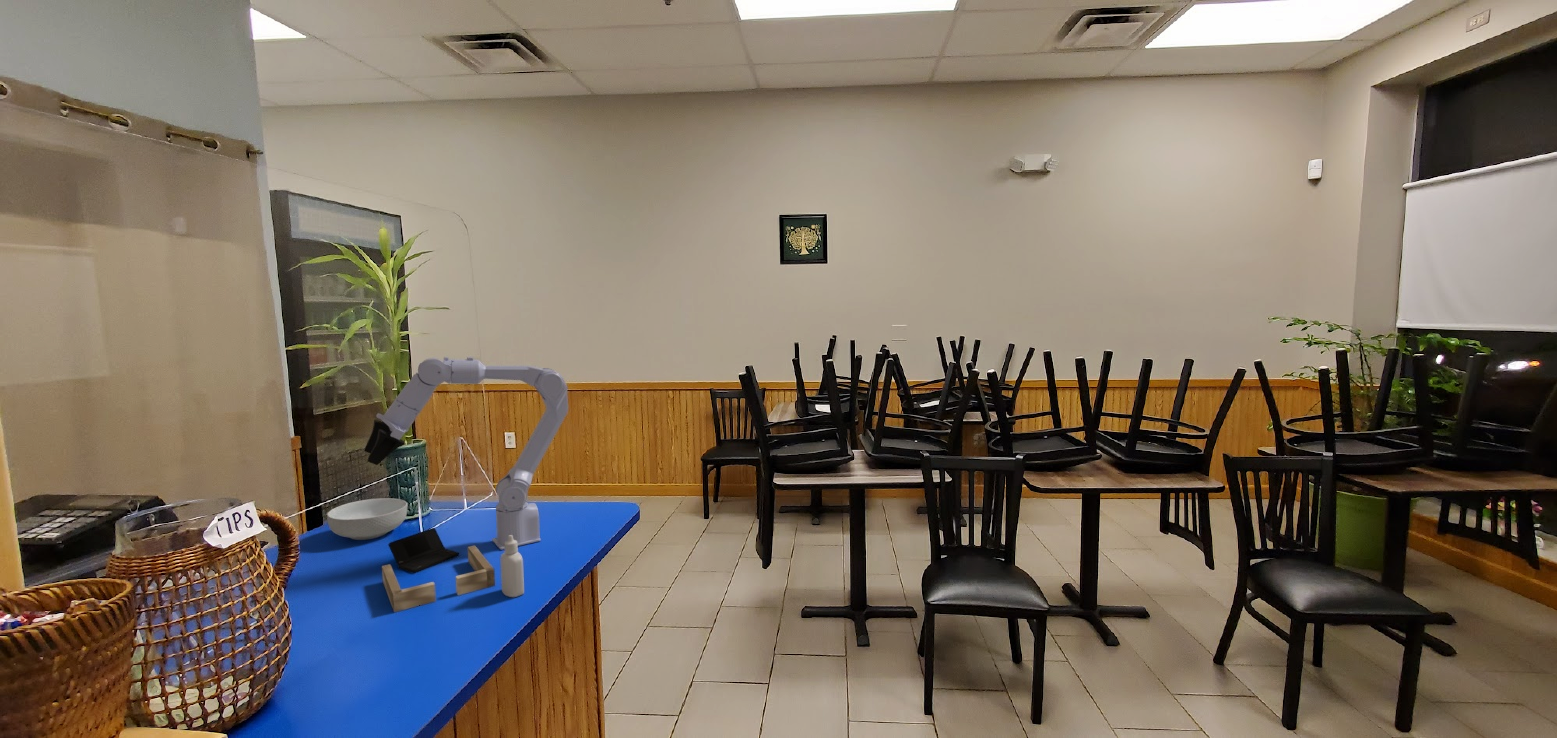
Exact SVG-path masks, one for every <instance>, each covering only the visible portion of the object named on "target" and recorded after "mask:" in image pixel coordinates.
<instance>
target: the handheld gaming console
mask: <svg viewBox="0 0 1557 738" xmlns="http://www.w3.org/2000/svg"><path fill="white" fill-rule="evenodd" d="M388 548H389V550H390V551H391V554H392V556H393V558H394V560H395V562H396V564H397V569H398V570H403V571H405V572H409V573H411V574H418V573H420V572H422V571H425V570H427V569H430V568H432V567H435V566H437V565H440V564H442V563H445V562H448V561H450V560H453V559H454V558H457V556H458V557H460V552H457V551H455V550H451V549H447V548H446V547H445V546H444V543H443V541H442V540H441V537H440V536H439V534H438V532H437V530H436V528H435V527H432V528H429V529H426V530H423V531H420V532H416V533H415V534H411V535H409V536H405V537H401V538H399V539H396V540H393V541H390V542H389V543H388Z"/></svg>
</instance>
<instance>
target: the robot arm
mask: <svg viewBox="0 0 1557 738" xmlns="http://www.w3.org/2000/svg"><path fill="white" fill-rule="evenodd" d="M417 368H418V369H417V372H415V374H413V375H412V377H410V380H409V381H407V382H406V383H405V386H404V387H403V388H402V389H401V391H400V392H399V394H398V395H397V397H395V399H394V401H393V402H392V403H391V404H390V406H389V407H388V409H386V412H385V413H384V414H381V413H379V412H378V413H377V414H376V415H375V416H376V418H377V419H376V418H375V419H374V420H373V427H372V430H371V433H370V435H369V438H368V440H367V443H366V445H365V447H364V450H363V451H364V452H366V453H369V455H368V458H367V462H368V463H370V464H373V465H375V466H378V465H379V464H381V463H382V462H383V461H384V460H385V459H386V458H387V457H388V456H389V455H390V454H392V453H393V452H394V451H396V450H397V449H399V448H402V447H403V446H404V445H405V444H406V441H405V440H403V439H402V438H403V436H404V435H405V434H406V433H408V432H409V430H410V427H411V425H413V423H414V422H415V421H416V419H417V417H418V416H419V415H420V413H421V412H422V411H423V409H424V408H425V406H426V405H427V404H428V402H429V401H430V399H431V398H432V396H433V393H434V392H435V390H436V389H437V387H438V386H440V385H442V384H443V383H444V382H445V383H446V384H448V385H450V384H453V385H479V384H480V383H481V382H482V381H483V380H507V381H508V380H510V381H521V382H523V383H525V384H527V385H529V386H531V387H534V389H536V391H537V392H538V393H539V395H540V396H541V397H542V401H543V404H544V406H545V410H544V412H543V414H542V416H541V417H540V419H539V421H538V423H537V425H536V426H535V428H534V430H533V432H532V434H531V435H530V437H529V439H528V440H527V443H526V444H525V445H524V447H523V450H522V451H521V453H520V455H519V457H518V459H517V460H516V462H515V463H514V464H513V465H514V466H512V467H511V468H510V469H509V470H508V472H507V474H506V475H505V476H504V477H502V478H501V479H499V480H498V482H497V484H496V486H495V492H496V495H497V497H498V502H497V504H496V506H495V517H496V518H495V522H496V536H497V537H493V538H491V541H492V542H493V543H494V544H495V545H496V546H497V547H498V549H499V550H501V551H502V550H505V545H504V543H505V542H506V541H508V538H509V535H513V539H514V540H516V541H517V543H518V547H519V546H523V545H528V544H532V543H537V542H540V541H541V540H542V539H541V537H540V514H539V509H538V506H537V504H536V503H535V502H529V503H528V501H527V499H528V491H529V488H531V487H530V486H531V485H532V480H533V477H534V474H535V472H536V471H537V468H538V467H539V464H540V463H541V461H542V459H543V458H544V456H545V454H546V452H547V450H548V449H549V447H550V445H551V443H552V442H553V440H554V438H555V436H556V434H557V433H558V431H559V429H560V427H561V426H562V423H563V422H564V420H565V418H566V416H567V415H568V413H569V401H568V400H569V399H568V385H567V383H566V381H565V379H564V377H563V376H562V374H561V373H559V372H557V371H555V370H554V369H552V368H549V367H540V366H536V365H535V366H533V365H525V364H524V365H518V364H517V365H486V364H484V363H482V362H481V360H480V359H474V357H473V356H466V359H461V358H460V359H455V358H454V359H453V358H452V359H451V358H450V357H449V356H444V357H443V360H442V359H439V358H435V357H429V358H426V359H424V360H423V361H422V362H420V363H419V364H418V367H417ZM378 419H379V420H378Z"/></svg>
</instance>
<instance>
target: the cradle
mask: <svg viewBox="0 0 1557 738" xmlns="http://www.w3.org/2000/svg"><path fill="white" fill-rule="evenodd" d="M467 562H468V563H469V565H470V566H471V567H472V569H473V570H474V571H471V572H467V573H464V574H459V575H456V576H455V589H456V591H455V592H456V595H457V596H460V595H465V594H468V593H473V592H476V591H479V590H485V589H488V588H491V587H494V586H496V578H495V577H496V575H495V568H494V567H493V565H492V564H490V562H489V561H488V560H487V559H486V558H485V556H484V555H483V553H482V552H481V551H480V550H479V548H478V547H476V545H475V544H474V545H471V546H467ZM381 572H382V573H381V575H382V584H383V586H384V588H385V591H386V594H387V596H388V599H389V602H390V604H391V607H392V610H393V612H394V613H397V612H402V611H404V610H409V609H412V608H417V607H419V605H420V606H423V605H427V604H431V603H435V602H437V601H436V597H437V596H436V584H435V582H434V581H431V582H427V583H423V584H420V585H415V586H410V587H407V588H401V587H400V584H399V582H398V578H397V577H396V574H395V572H394V569H393V567H392V565H391V564H385V565H382V566H381Z"/></svg>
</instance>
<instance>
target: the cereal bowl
mask: <svg viewBox="0 0 1557 738" xmlns="http://www.w3.org/2000/svg"><path fill="white" fill-rule="evenodd" d="M407 514H408V503H407V501H406V500H403V499H400V498H393V497H392V498H389V497H386V498H385V497H383V498H381V497H379V498H369V499H362V500H357V501H352V502H348V503H345V504H341V505H339V506H336V507H335V508H332V509H330V510H329V511H328V512H327V515H326V519H327V525H328V527H329V529H330V530H331V531H332V532H333V533H334V534H336V535H337V536H339V537H340V536H341V537H344V538H350V539H351V540H355V541H366V540H372V539H376V538H379V537H383V536H385V535H386V534H387V533H388V532H391V531H393V530H395V529H396V528H398V527H400V526H401V524H402V523H403V522H404V521H405V520H406V517H407Z"/></svg>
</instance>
